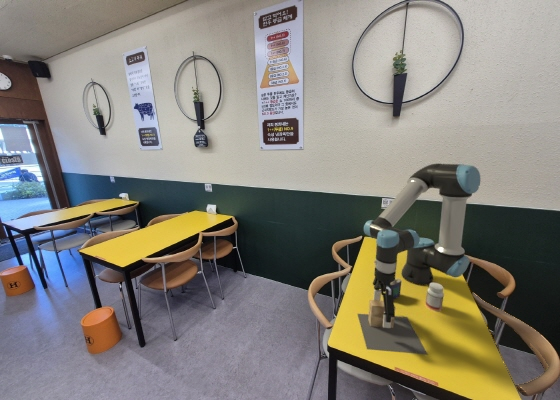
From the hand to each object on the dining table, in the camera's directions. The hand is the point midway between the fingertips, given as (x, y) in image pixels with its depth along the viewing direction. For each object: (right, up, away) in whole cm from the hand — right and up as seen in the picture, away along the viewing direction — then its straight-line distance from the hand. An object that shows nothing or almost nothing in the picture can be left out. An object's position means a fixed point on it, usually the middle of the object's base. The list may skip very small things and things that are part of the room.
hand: (381, 314), depth 92 cm
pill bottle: (+29, -2, +10) cm, 30 cm away
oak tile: (0, -5, +1) cm, 5 cm away
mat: (+2, -6, -3) cm, 7 cm away
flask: (+14, -1, +17) cm, 22 cm away
